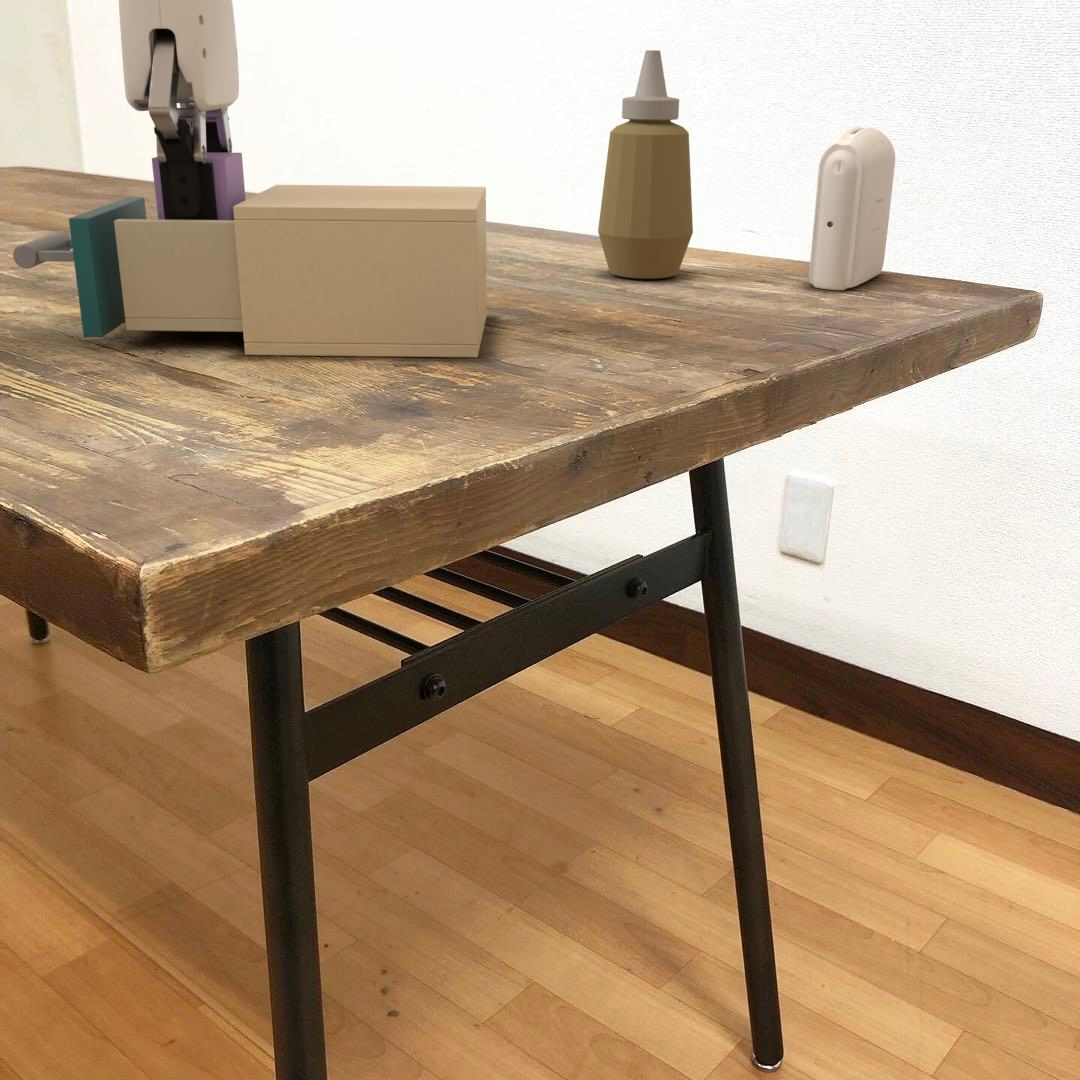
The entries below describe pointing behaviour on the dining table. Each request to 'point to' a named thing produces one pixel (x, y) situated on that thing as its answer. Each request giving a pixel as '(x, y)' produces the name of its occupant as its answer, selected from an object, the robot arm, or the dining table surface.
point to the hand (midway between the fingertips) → (202, 220)
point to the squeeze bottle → (647, 183)
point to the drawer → (146, 270)
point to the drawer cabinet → (363, 270)
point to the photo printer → (852, 209)
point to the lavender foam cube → (225, 181)
